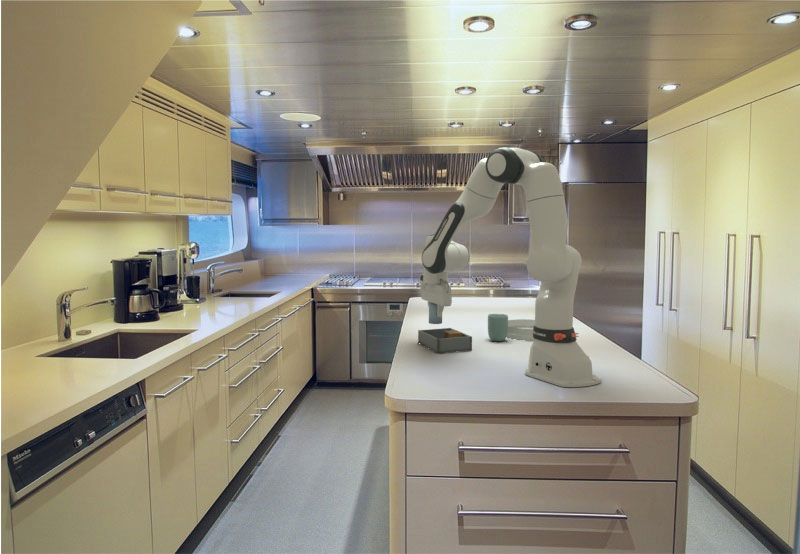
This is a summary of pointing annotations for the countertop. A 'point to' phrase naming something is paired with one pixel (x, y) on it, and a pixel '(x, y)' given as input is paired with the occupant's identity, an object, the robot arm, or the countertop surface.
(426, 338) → the tote
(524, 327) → the dish
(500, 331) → the cup
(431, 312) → the blue cylinder
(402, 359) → the countertop surface
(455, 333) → the walnut cube
